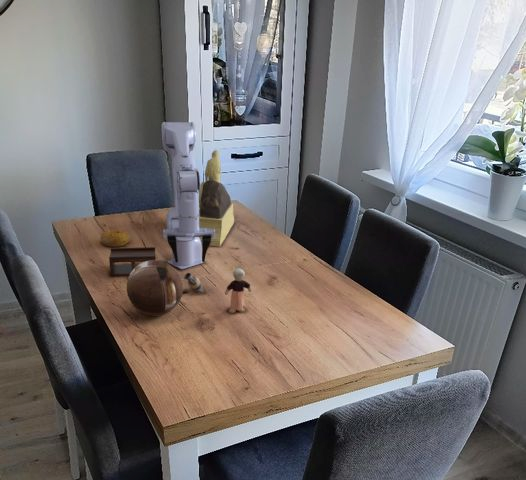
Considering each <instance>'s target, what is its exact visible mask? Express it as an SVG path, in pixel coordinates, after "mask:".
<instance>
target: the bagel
mask: <svg viewBox="0 0 526 480" xmlns="http://www.w3.org/2000/svg"><path fill="white" fill-rule="evenodd" d="M99 240H100V243H102V244H104V245H105V246H107V247H110V248H122V247H124V246H126V245H128V243H130V242H131V238H130V235H129V234H128V233H127V232H126V231H123V230H118V229H111V230H108V231H107V230H105V231H103V232H102V233H101V234H100V237H99Z"/></svg>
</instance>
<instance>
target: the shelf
mask: <svg viewBox="0 0 526 480" xmlns="http://www.w3.org/2000/svg"><path fill="white" fill-rule="evenodd" d="M156 256H157V255H156V247H155V246H148V247H147V246H144V247H143V246H142V247H137V246H136V247H110V253H109V256H108V262H109V268H110V269H109V271H110V277H129V275H130V273H131V272H132V270H133V269H134V268H135V267H136V266H138V265H139V264H140V263H143V262H145V261H150V260H157V258H156ZM118 263H119V264H118Z"/></svg>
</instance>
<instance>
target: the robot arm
mask: <svg viewBox="0 0 526 480" xmlns="http://www.w3.org/2000/svg"><path fill="white" fill-rule="evenodd" d="M161 140H162V148H163V151H165V152H167V153H169V155H170V158H171V170H172V185H173V186H172V187H173V199H174V200H173V201H174V202H173V203H174V205H173V208H171V209H170V210H169V211H168V212H167V214H166V229H165V228H164V229H162V230H163V231H162V235H163V237H162V238H163V239H167V243H168V245H169V247H170V249H171V257H172V259H170V260H167V261H166V263H168V264H169V265H171V266H172V267H174V268H178V269H179V270H184V269H188V268H191V267H194V266H198V265H201V264H203V263H205V261H206V256H207V253H208V249H209V247H210V246H209V245H210V243H211V238H215V229H205V228H199V209H200V207H199V192H200V186H201V183H202V182H201V175H200V171H199V170H198V169H199V168H197V166H196V161H195V156H194V155H193V154H192V153H191V152H192V151H194V148H195V146H196V145H195V144H196V140H197V129H196V124H195V123H194V122H193V121H191V122H189V121H188V122H187V121H185V122H184V121H183V122H182V121H181V122H179V121H178V122H175V121H172V122H171V121H170V122H169V121H163V122H162V123H161ZM199 237H202V245H201V241H200V238H199Z"/></svg>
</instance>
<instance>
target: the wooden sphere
mask: <svg viewBox="0 0 526 480" xmlns="http://www.w3.org/2000/svg"><path fill="white" fill-rule="evenodd" d="M138 264H139V265H138V266H136V267H135V268H134V269H133V270H132V272H131V273H130V275H129V276H127V277H128V278H127V281H126V293H127V298H128V300H129V302H130V303H131V304H132V306H133V307H134V308H135V309H136V310H138V311H139V312H140V313H143V314H144V315H148V316H155V317H156V316H157V317H158V316H162V315H163V316H164V315H166V314H169V313H170V312H171V311H173V310H174V309H175V308H176V307H177V306H178V305H179V303H180V301H181V299H182V298H183V297H182V296H183V292H184V287H183V286H184V284H183V280H182V278H181V275H180V274H179V272H178V270H177V269H176V268H175V267H174V266H173V265H171V264H169V263H167V261H166V262H165V261H162V260H158V259H156V260H150V261H145V262H140V263H138Z"/></svg>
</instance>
